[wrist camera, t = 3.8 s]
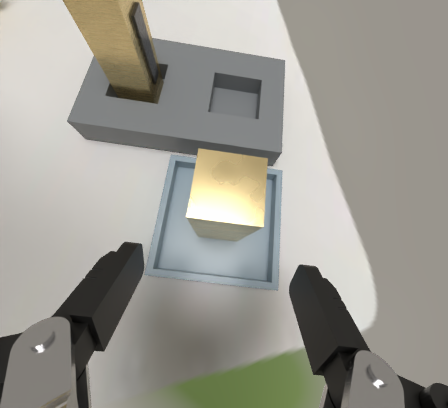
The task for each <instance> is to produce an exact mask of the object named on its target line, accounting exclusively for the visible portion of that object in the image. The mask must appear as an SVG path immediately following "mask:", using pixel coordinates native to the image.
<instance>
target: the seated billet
mask: <svg viewBox="0 0 448 408" xmlns="http://www.w3.org/2000/svg"><path fill="white" fill-rule="evenodd" d="M63 2H64V3H65V5H66V7H67V9H68V10H69V12H70V14H71V16H72V17H73V19H74V21H75V23H76V24H77V26H78V28H79V30H80V31H81V33H82V35H83V37H84V38H85V40H86V42H87V44H88V45H89V47H90V49H91V51H92V52H93V54H94V56H95V58H96V59H97V61H98V63H99V64H100V66H101V68H102V70H103V71H104V73H105V75H106V77H107V78H108V80H109V82H110V84H111V85H112V87H113V89H114V91H115V92H116V94H117V96H118V98H122V99H129V100H135V101H142V102H148V103H155V104H158V102H159V98H160V95H161V91H162V87H163V83H164V82H163V79H162V75H161V71H160V67H159V63H158V60H157V56H156V52H155V48H154V45H153V41H152V37H151V33H150V29H149V26H148V22H147V18H146V14H145V10H144V7H143V3H142V0H63Z"/></svg>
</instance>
